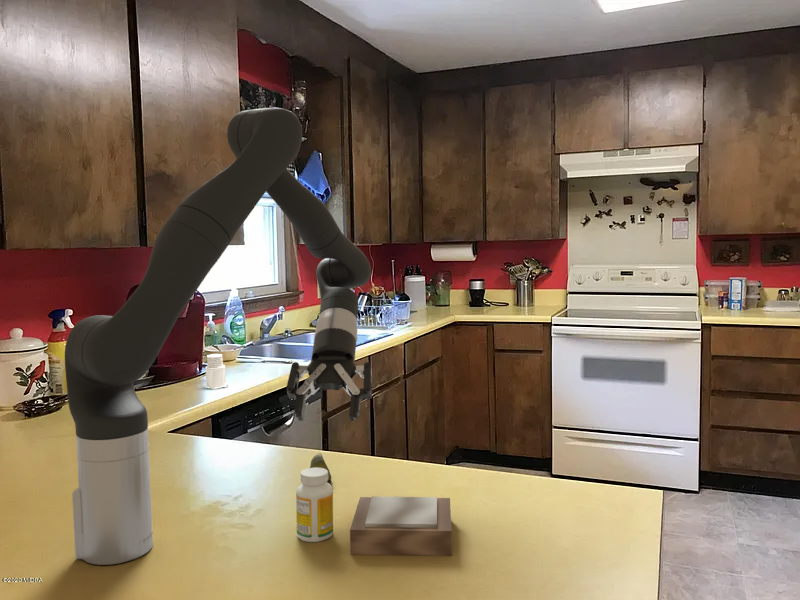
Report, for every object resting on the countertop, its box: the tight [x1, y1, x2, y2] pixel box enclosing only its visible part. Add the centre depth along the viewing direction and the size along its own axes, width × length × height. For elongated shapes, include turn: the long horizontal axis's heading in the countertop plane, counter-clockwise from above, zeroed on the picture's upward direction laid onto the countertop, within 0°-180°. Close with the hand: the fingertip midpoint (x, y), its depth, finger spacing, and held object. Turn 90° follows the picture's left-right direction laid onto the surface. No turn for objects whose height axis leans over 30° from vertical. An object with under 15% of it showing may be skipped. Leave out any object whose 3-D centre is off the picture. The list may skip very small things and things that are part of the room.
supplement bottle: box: [295, 467, 334, 543], centre depth 98 cm, size 5×5×10 cm
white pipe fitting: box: [205, 353, 227, 388], centre depth 204 cm, size 8×7×10 cm
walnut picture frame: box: [349, 496, 453, 557], centre depth 97 cm, size 14×12×4 cm
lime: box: [309, 452, 332, 482], centre depth 121 cm, size 4×5×5 cm
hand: (326, 418), depth 108 cm, fingers open, 8 cm apart
